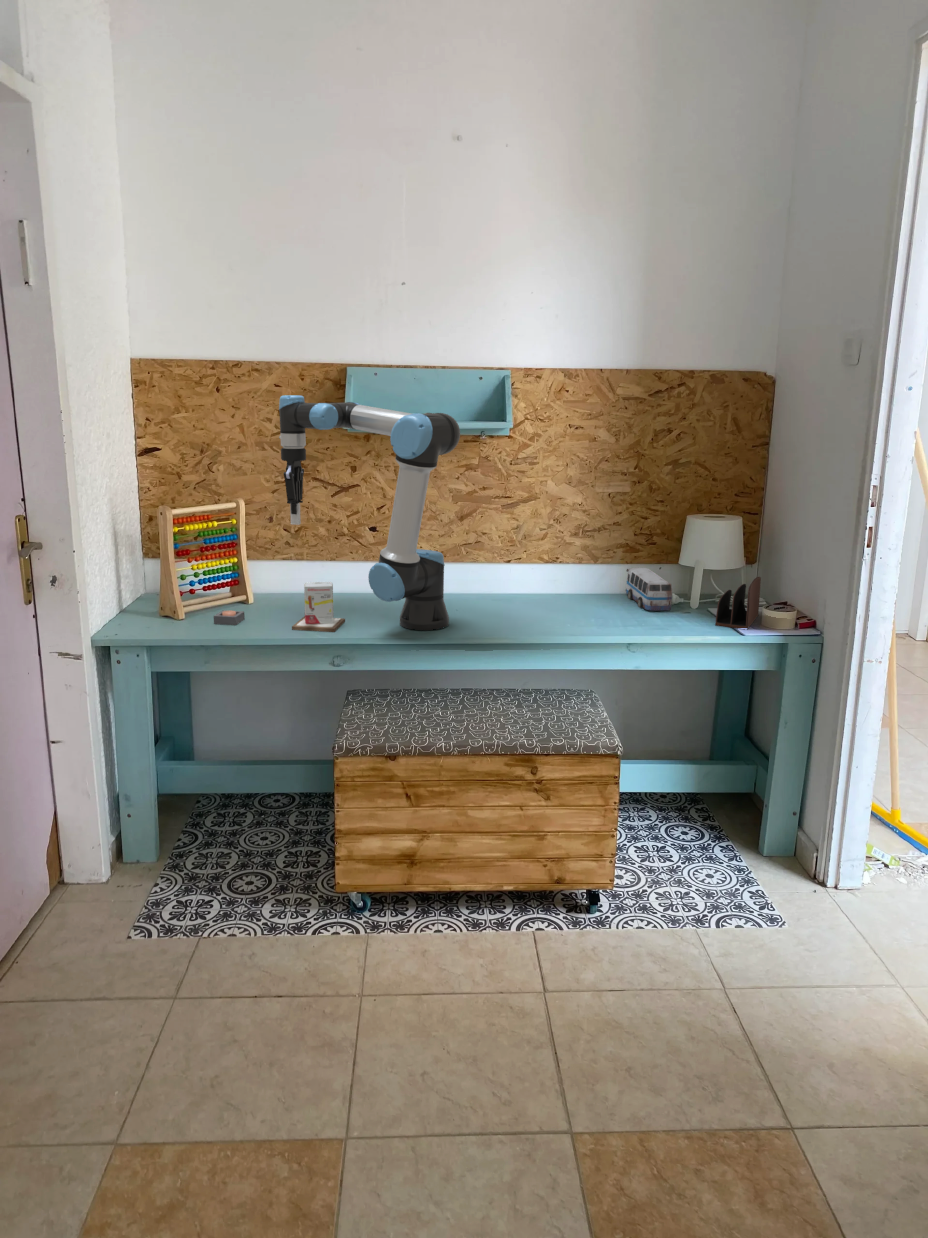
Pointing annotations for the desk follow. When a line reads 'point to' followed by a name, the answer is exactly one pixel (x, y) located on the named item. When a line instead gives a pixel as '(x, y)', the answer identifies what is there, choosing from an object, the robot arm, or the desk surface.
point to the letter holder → (739, 606)
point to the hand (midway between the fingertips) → (295, 524)
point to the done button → (229, 613)
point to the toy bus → (648, 589)
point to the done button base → (229, 618)
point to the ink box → (318, 602)
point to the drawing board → (318, 625)
